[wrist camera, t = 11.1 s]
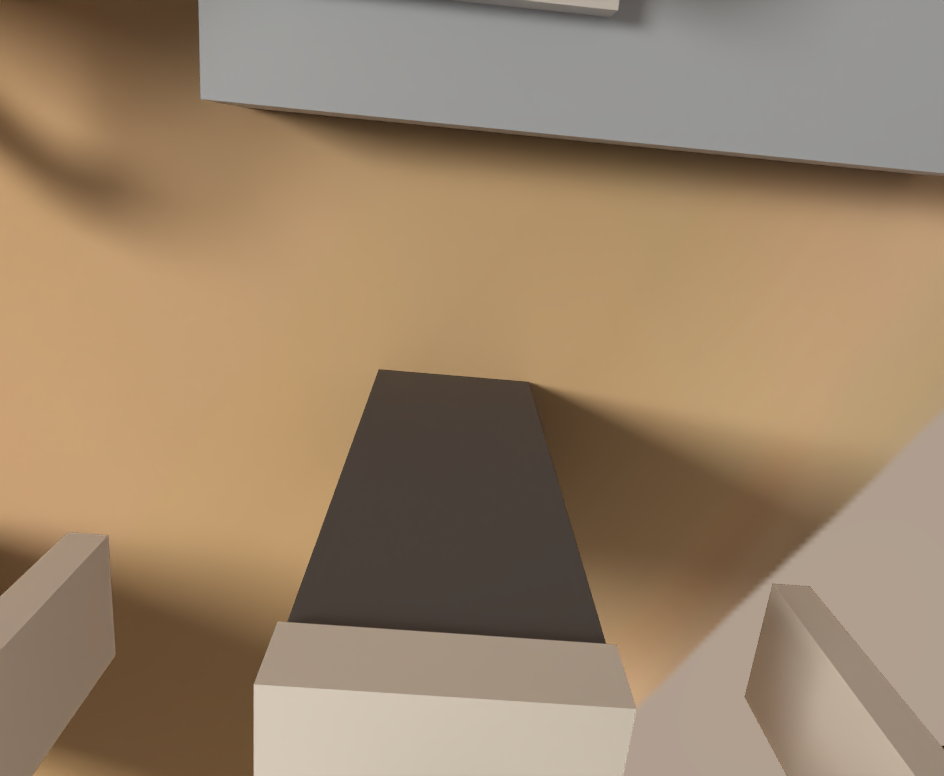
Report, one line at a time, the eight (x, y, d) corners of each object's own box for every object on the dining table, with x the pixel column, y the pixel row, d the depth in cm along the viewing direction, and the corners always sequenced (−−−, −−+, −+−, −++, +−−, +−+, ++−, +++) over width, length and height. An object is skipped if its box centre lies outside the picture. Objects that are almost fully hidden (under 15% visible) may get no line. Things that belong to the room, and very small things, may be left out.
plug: (375, 365, 21) (179, 877, 6) (532, 379, 21) (699, 905, 7) (368, 507, 23) (193, 1194, 8) (514, 518, 23) (618, 1209, 8)
